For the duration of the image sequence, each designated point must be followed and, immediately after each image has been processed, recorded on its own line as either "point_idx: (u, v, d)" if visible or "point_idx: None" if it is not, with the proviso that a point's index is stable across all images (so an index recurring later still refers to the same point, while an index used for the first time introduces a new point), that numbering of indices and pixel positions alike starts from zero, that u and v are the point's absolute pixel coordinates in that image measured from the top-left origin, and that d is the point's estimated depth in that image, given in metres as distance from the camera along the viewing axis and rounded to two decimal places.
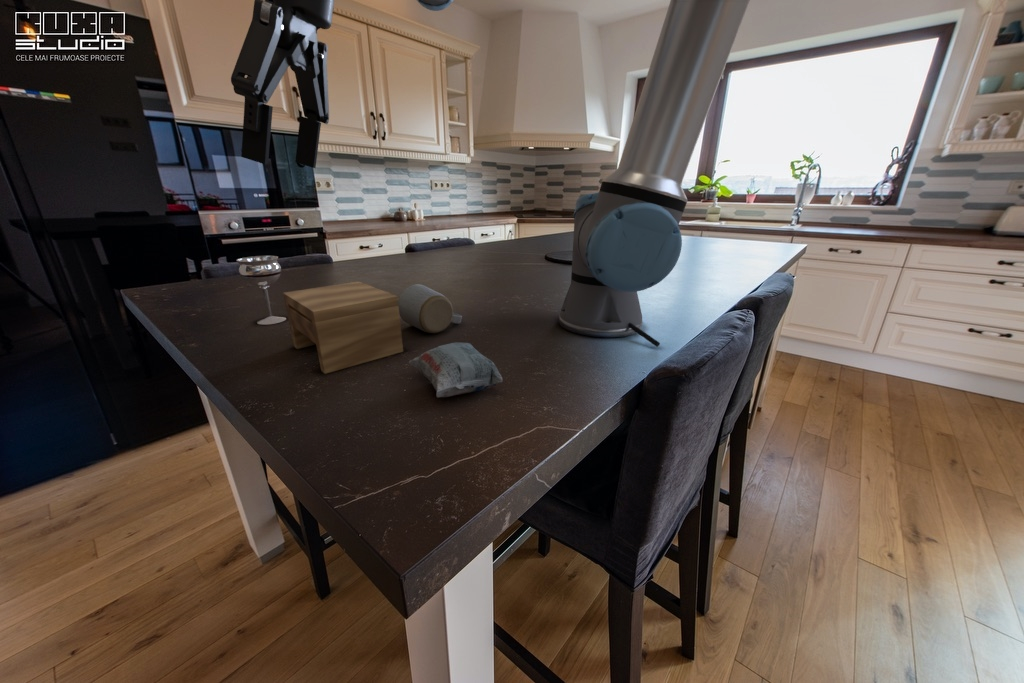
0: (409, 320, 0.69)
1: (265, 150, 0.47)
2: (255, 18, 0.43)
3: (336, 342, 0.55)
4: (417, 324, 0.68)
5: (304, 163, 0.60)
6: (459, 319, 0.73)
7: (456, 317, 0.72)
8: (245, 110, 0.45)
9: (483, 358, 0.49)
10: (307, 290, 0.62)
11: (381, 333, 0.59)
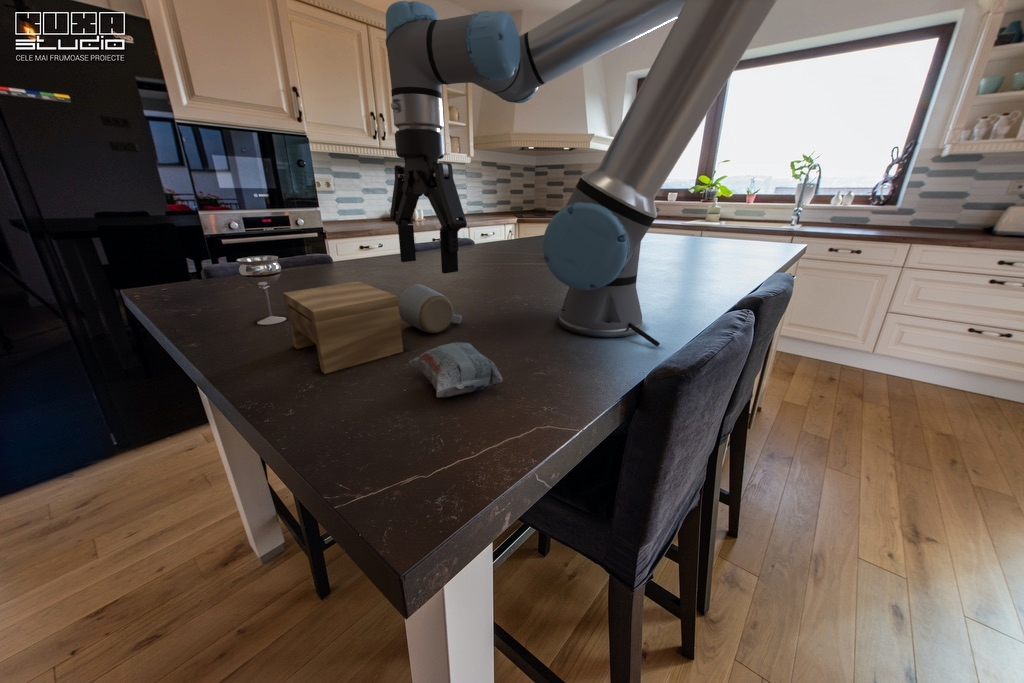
0: (409, 320, 0.69)
1: (457, 261, 0.65)
2: (441, 176, 0.59)
3: (336, 342, 0.55)
4: (417, 324, 0.68)
5: (409, 260, 0.74)
6: (459, 319, 0.73)
7: (456, 317, 0.72)
8: (451, 240, 0.61)
9: (483, 358, 0.49)
10: (307, 290, 0.62)
11: (381, 333, 0.59)
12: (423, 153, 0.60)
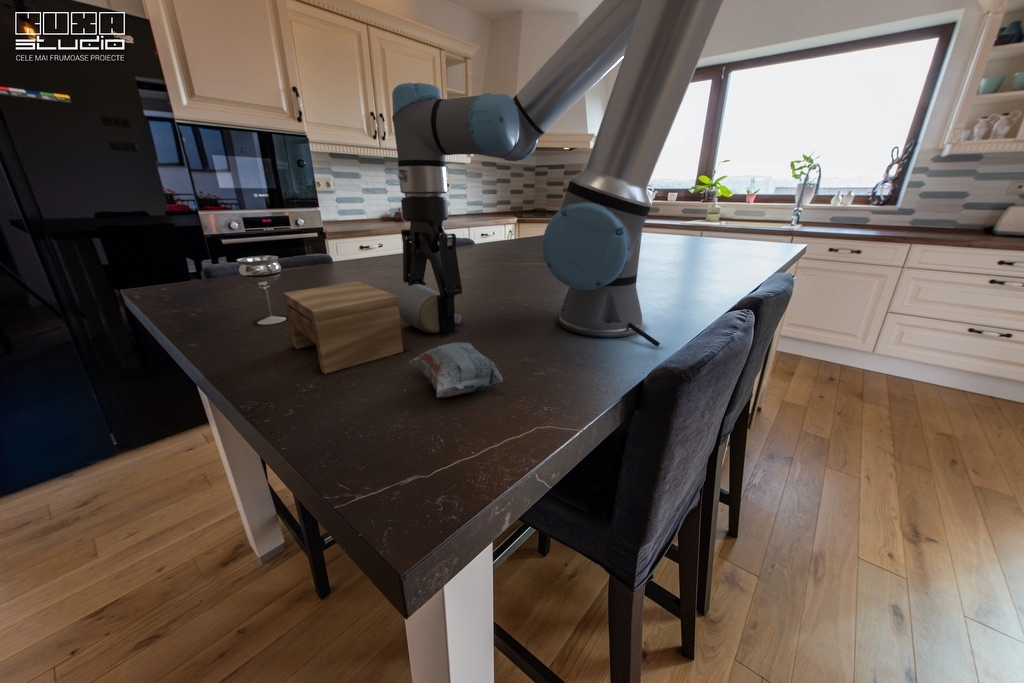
0: (408, 320, 0.70)
1: (454, 322, 0.70)
2: (445, 248, 0.63)
3: (336, 342, 0.55)
4: (416, 324, 0.68)
5: None
6: (458, 319, 0.73)
7: (455, 317, 0.72)
8: (448, 305, 0.67)
9: (483, 358, 0.49)
10: (307, 290, 0.62)
11: (381, 333, 0.59)
12: (428, 219, 0.63)
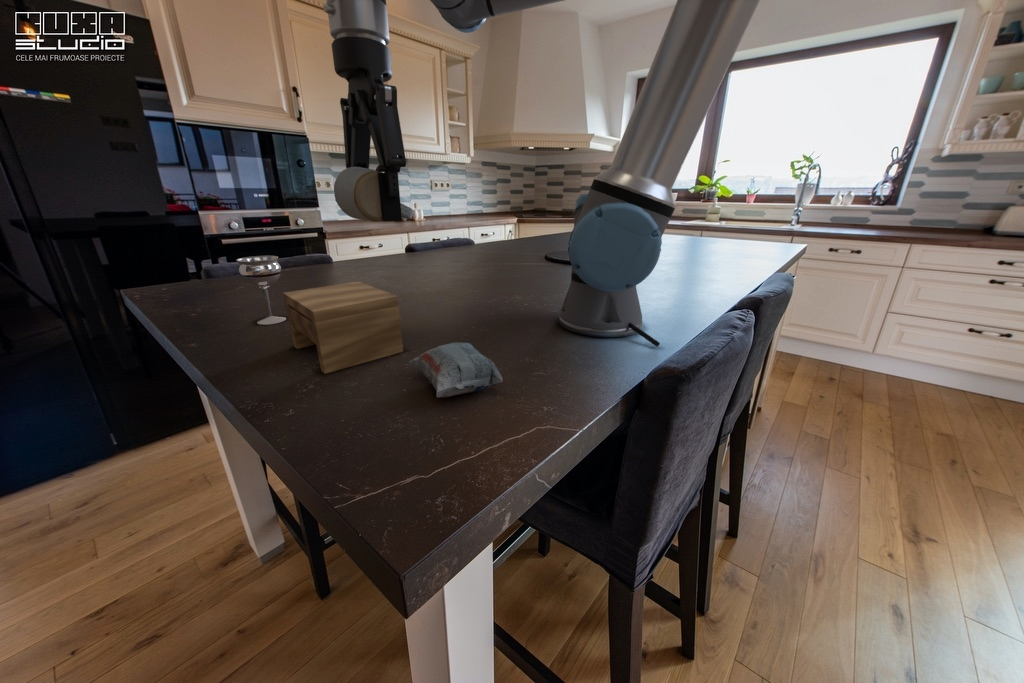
0: (345, 205, 0.58)
1: (400, 209, 0.58)
2: (382, 102, 0.51)
3: (336, 342, 0.55)
4: (353, 206, 0.56)
5: None
6: (409, 211, 0.62)
7: (404, 207, 0.61)
8: (390, 182, 0.55)
9: (483, 358, 0.49)
10: (307, 290, 0.62)
11: (381, 333, 0.59)
12: (363, 66, 0.51)
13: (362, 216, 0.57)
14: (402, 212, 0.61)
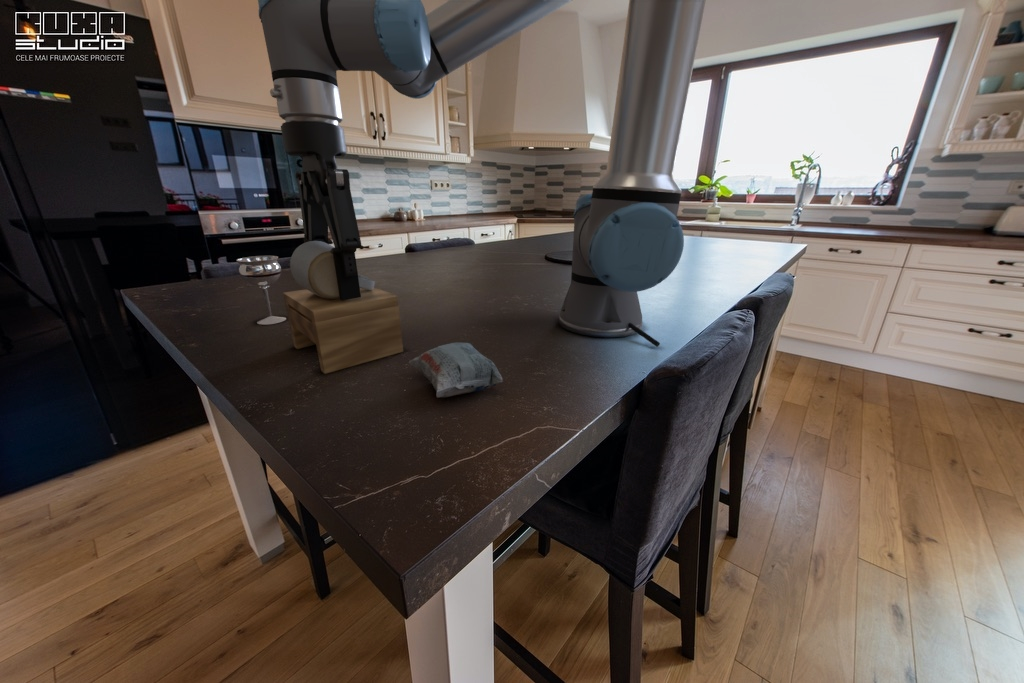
0: (302, 283, 0.56)
1: None
2: (333, 187, 0.50)
3: (336, 342, 0.55)
4: (308, 287, 0.55)
5: None
6: (369, 284, 0.60)
7: (364, 281, 0.59)
8: (345, 263, 0.54)
9: (483, 358, 0.49)
10: (307, 290, 0.62)
11: (381, 333, 0.59)
12: (313, 150, 0.50)
13: (318, 295, 0.56)
14: (362, 286, 0.59)
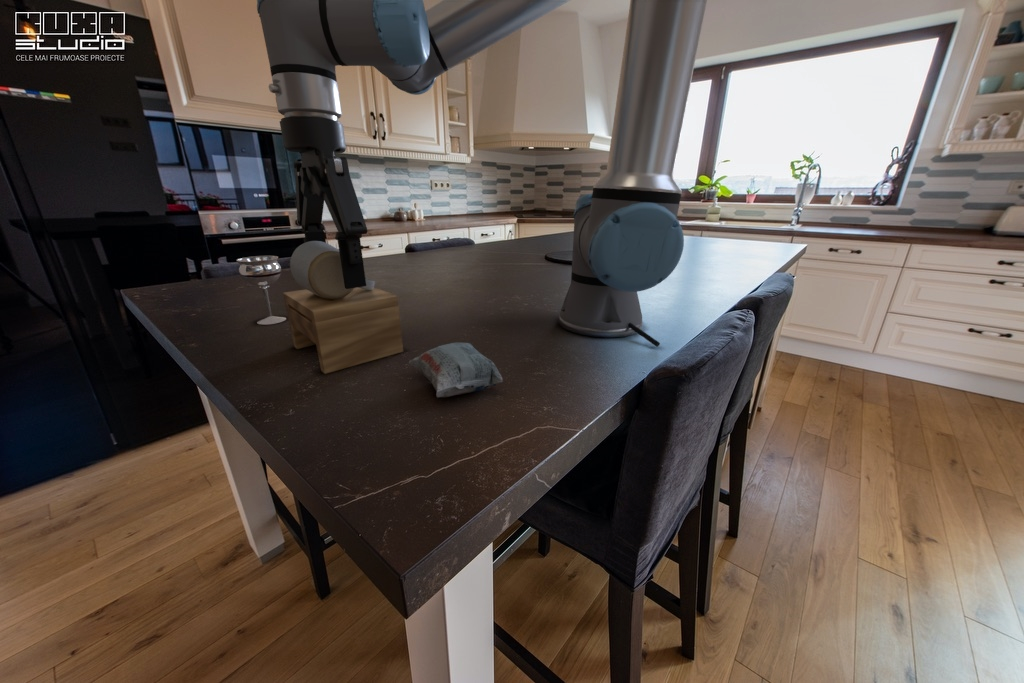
0: (302, 283, 0.56)
1: (364, 274, 0.55)
2: (332, 173, 0.49)
3: (336, 342, 0.55)
4: (308, 287, 0.55)
5: None
6: (369, 284, 0.60)
7: None
8: (350, 250, 0.51)
9: (483, 358, 0.49)
10: (307, 290, 0.62)
11: (381, 333, 0.59)
12: (312, 145, 0.49)
13: (318, 295, 0.56)
14: None
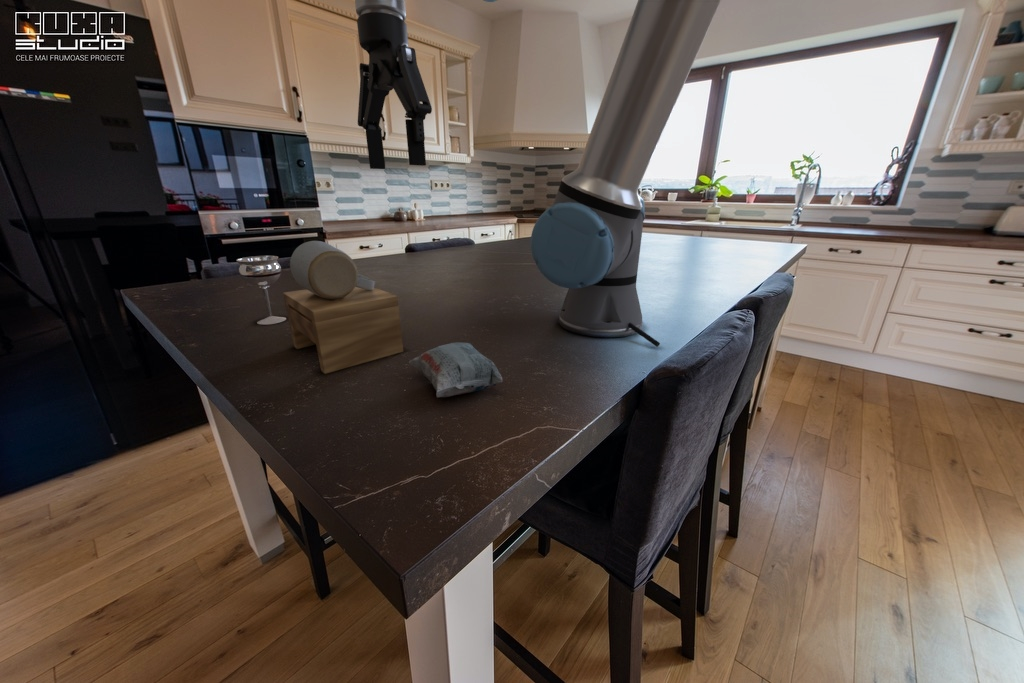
0: (302, 283, 0.56)
1: (424, 154, 0.65)
2: (404, 59, 0.59)
3: (336, 342, 0.55)
4: (308, 287, 0.55)
5: (378, 167, 0.74)
6: (369, 284, 0.60)
7: (364, 281, 0.59)
8: (417, 128, 0.62)
9: (483, 358, 0.49)
10: (307, 290, 0.62)
11: (381, 333, 0.59)
12: (386, 38, 0.60)
13: (318, 295, 0.56)
14: (362, 286, 0.59)
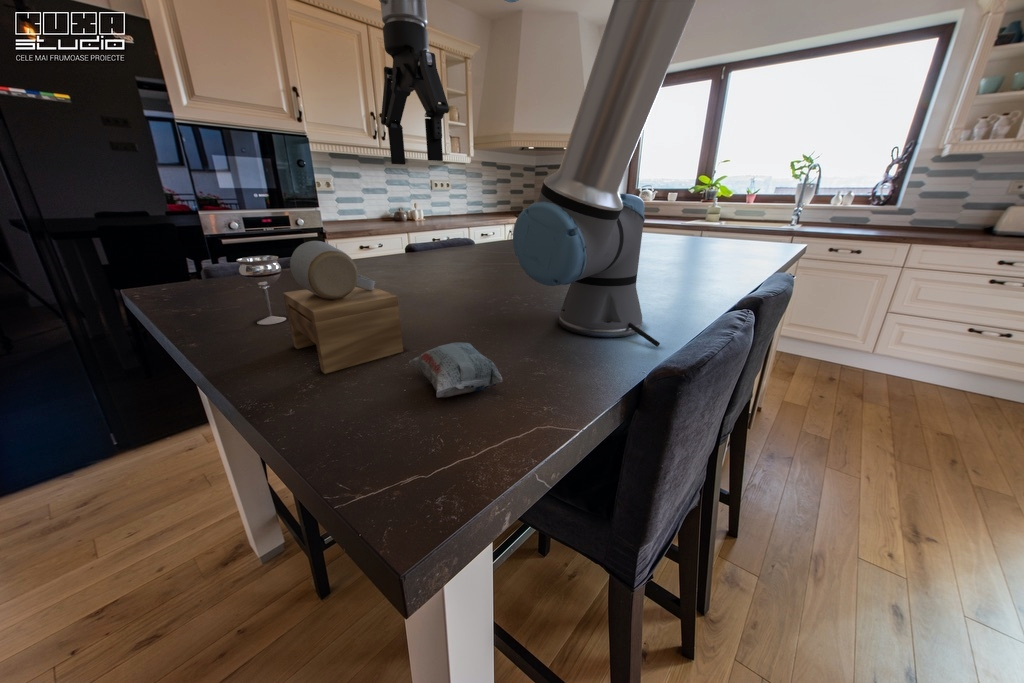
0: (302, 283, 0.56)
1: None
2: (425, 63, 0.65)
3: (336, 342, 0.55)
4: (308, 287, 0.55)
5: (399, 162, 0.79)
6: (369, 284, 0.60)
7: (364, 281, 0.59)
8: (435, 126, 0.67)
9: (483, 358, 0.49)
10: (307, 290, 0.62)
11: (381, 333, 0.59)
12: (408, 44, 0.65)
13: (318, 295, 0.56)
14: (362, 286, 0.59)
